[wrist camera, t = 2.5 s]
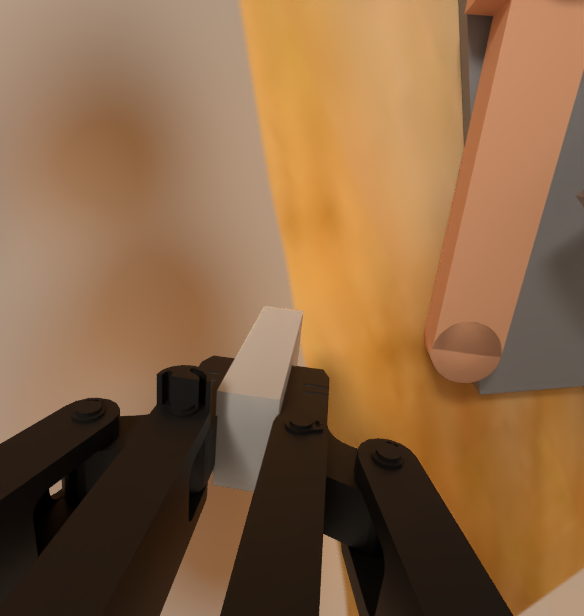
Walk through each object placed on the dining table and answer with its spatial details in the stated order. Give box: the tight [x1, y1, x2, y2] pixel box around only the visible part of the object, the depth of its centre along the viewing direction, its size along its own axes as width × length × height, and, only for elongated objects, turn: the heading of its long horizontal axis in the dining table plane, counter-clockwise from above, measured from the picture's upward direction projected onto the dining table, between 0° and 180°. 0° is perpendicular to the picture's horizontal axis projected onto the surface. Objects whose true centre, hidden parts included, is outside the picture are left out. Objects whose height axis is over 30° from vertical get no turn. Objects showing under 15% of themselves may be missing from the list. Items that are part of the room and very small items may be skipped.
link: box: [424, 0, 584, 383], centre depth 17 cm, size 20×5×2 cm, turn 174°
